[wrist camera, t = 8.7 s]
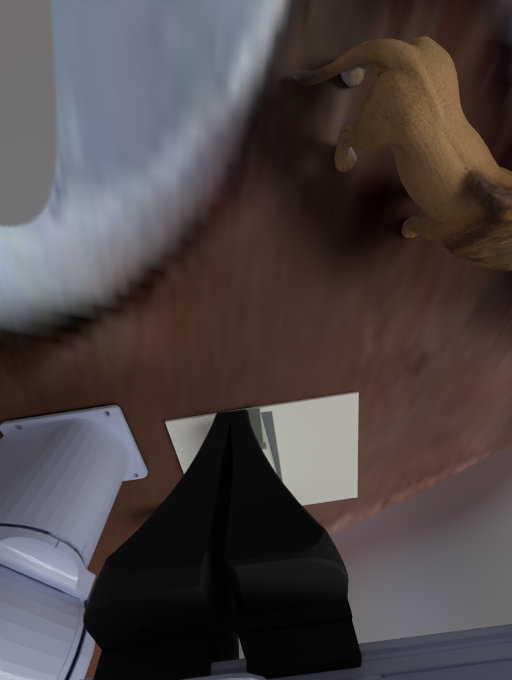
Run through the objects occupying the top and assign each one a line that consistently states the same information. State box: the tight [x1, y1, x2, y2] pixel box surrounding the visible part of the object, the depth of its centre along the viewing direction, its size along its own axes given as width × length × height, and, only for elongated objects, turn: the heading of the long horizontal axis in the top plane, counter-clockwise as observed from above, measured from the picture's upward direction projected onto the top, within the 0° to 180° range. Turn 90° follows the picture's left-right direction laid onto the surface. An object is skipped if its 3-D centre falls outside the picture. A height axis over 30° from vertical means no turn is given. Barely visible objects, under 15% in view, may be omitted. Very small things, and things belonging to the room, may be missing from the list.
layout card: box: [165, 391, 359, 505], centre depth 27 cm, size 16×13×1 cm
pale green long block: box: [247, 408, 277, 473], centre depth 24 cm, size 12×2×4 cm, turn 12°
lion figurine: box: [293, 37, 512, 270], centre depth 13 cm, size 15×5×9 cm, turn 58°
